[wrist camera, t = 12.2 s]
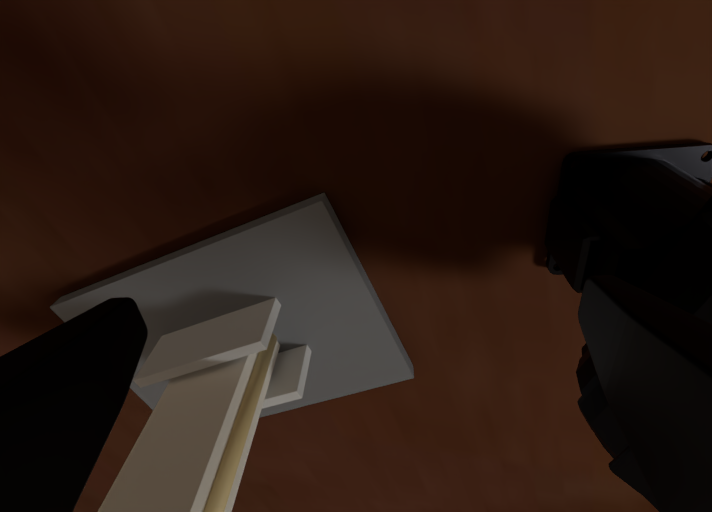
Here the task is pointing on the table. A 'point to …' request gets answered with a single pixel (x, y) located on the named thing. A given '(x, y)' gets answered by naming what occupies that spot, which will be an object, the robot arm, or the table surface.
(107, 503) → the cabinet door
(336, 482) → the table surface
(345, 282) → the grey base plate
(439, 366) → the table surface
